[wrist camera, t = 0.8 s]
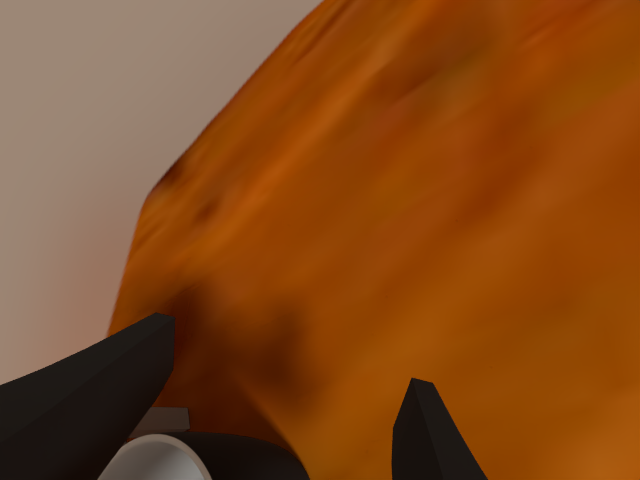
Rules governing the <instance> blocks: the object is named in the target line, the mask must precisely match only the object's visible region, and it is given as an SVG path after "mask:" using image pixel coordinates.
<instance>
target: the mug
mask: <svg viewBox="0 0 640 480" xmlns="http://www.w3.org/2000/svg"><path fill="white" fill-rule="evenodd" d="M98 480H310V479H309V477H308V475H307V473H306V471H305V469H304V468H303V466H302V465H301V464H300V463H299V461H298V460H297V459H296V458H295V457H294V456H293V455H292V454H290V453H289V452H288V451H286V450H285V449H283V448H281V447H279V446H277V445H275V444H272V443H270V442H267V441H263V440H259V439H255V438H250V437H245V436H238V435H230V434H221V433H208V432H162V433H154V434H148V435H145V436H141V437H138V438H136V439H134V440H132V441H130V442H128V443H127V444H125V445H124V446H122V447H121V448H120V449H119V451H118V452H117V453H116V455H115V456H114V457H113V459H112V460H111V461H110V463H109V464H108V465H107V467H106V468H105V469H104V471H103V472H102V474H101V475H100V477H99V478H98Z"/></svg>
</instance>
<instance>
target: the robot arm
mask: <svg viewBox="0 0 640 480" xmlns="http://www.w3.org/2000/svg"><path fill="white" fill-rule="evenodd" d="M174 333H175V317H171V316H167V315H164V314H160V313H154V314H152V315H150V316H148V317H146V318H144V319H142V320H140V321H138V322H137V323H135V324H133V325H131V326H129V327H127V328H125V329H123V330H121V331H119V332H118V333H116V334H114V335H112V336H110V337H108V338H106V339H104V340H102V341H100V342H98V343H96V344H94V345H92V346H90V347H88V348H86V349H84V350H82V351H80V352H77V353H75V354H73V355H71V356H69V357H67V358H65V359H62V360H60V361H58V362H56V363H54V364H52V365H49V366H47V367H45V368H43V369H40V370H38V371H35V372H33V373H30V374H28V375H26V376H23V377H21V378H18V379H15V380H13V381H10V382H8V383H5V384H2V385H0V480H98V478H99V477H100V475H101V474H102V472H103V471H104V469H105V468H106V467H107V465H108V464H109V463H110V461H111V460H112V459H113V457H114V456H115V455H116V453H117V452H118V451H119V449H120V448H121V447H122V445H123V444H124V443H125V441H126V440H127V439H128V437H129V436H130V435H131V433H132V432H133V431H134V429H135V428H136V427H137V425H138V424H139V422H140V421H141V420H142V418H143V417H144V416H145V414H146V413H147V412H148V410H149V409H150V407H151V406H152V405H153V403H154V402H155V400H156V399H157V397H158V395H159V394H160V392H161V390H162V389H163V387H164V385H165V383H166V382H167V380H168V378H169V376H170V374H171V373H172V371H173V359H174ZM392 479H393V480H488V479H487V477H486V476H485V474H484V473H483V471H482V470H481V468H480V466H479V465H478V463H477V461H476V460H475V458H474V456H473V455H472V453H471V451H470V450H469V448H468V446H467V444H466V443H465V441H464V439H463V438H462V436H461V434H460V432H459V431H458V429H457V427H456V425H455V423H454V421H453V420H452V418H451V416H450V414H449V412H448V410H447V408H446V407H445V405H444V403H443V401H442V399H441V397H440V395H439V393H438V391H437V389H436V388H435V386H434V384H433V383H431V382H427V381H423V380H419V379H415V378H411V381H410V384H409V386H408V389H407V392H406V394H405V397H404V400H403V402H402V405H401V408H400V411H399V413H398V416H397V419H396V421H395V424H394V427H393V441H392Z"/></svg>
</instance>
